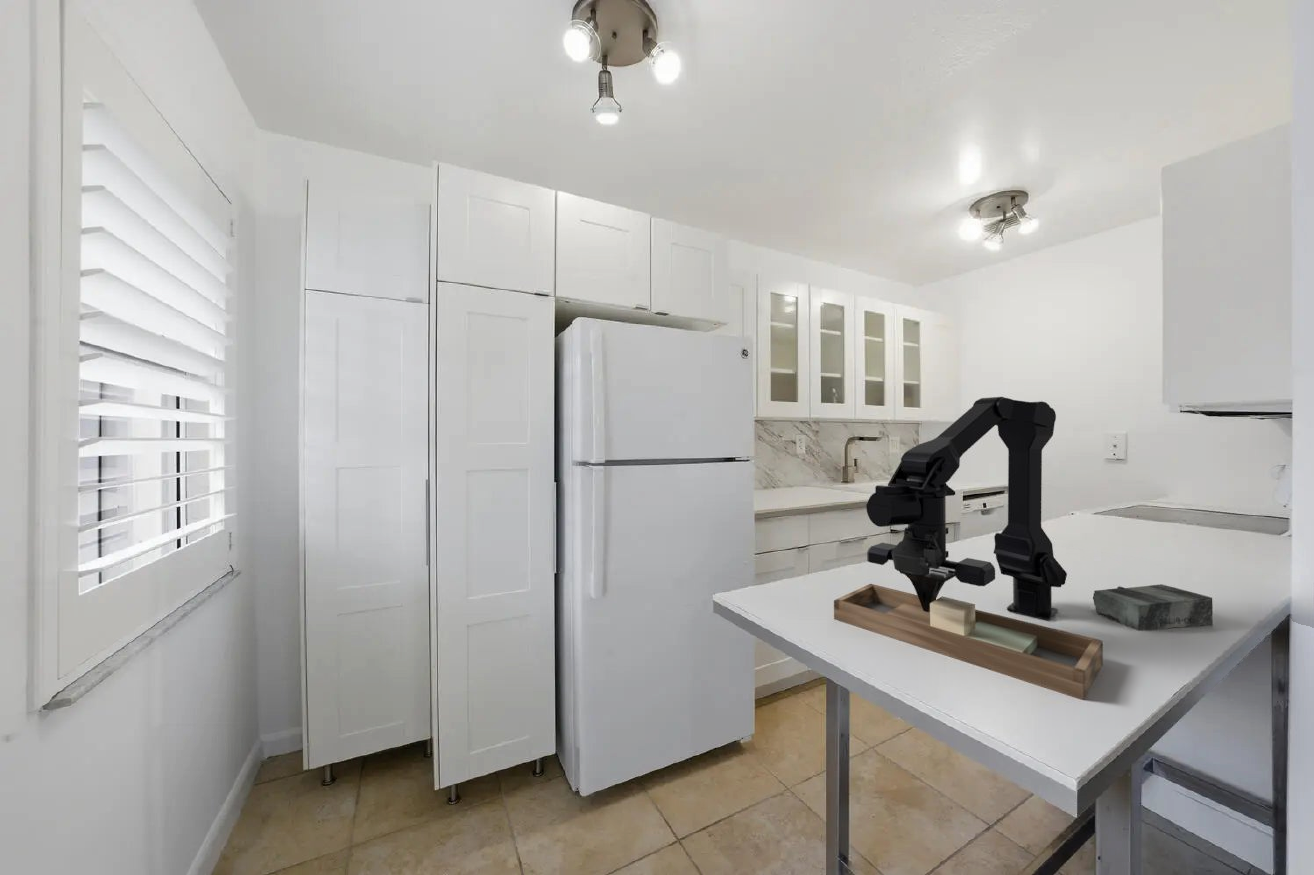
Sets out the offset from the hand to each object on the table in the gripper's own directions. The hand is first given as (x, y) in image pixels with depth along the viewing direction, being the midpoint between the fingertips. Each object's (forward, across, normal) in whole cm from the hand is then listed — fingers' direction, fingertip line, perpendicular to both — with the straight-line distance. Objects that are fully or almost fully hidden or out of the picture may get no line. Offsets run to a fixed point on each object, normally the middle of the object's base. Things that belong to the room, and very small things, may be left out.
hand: (927, 611), depth 82 cm
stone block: (+4, +23, +35) cm, 42 cm away
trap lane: (+4, +4, 0) cm, 5 cm away
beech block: (+2, +4, 0) cm, 4 cm away
